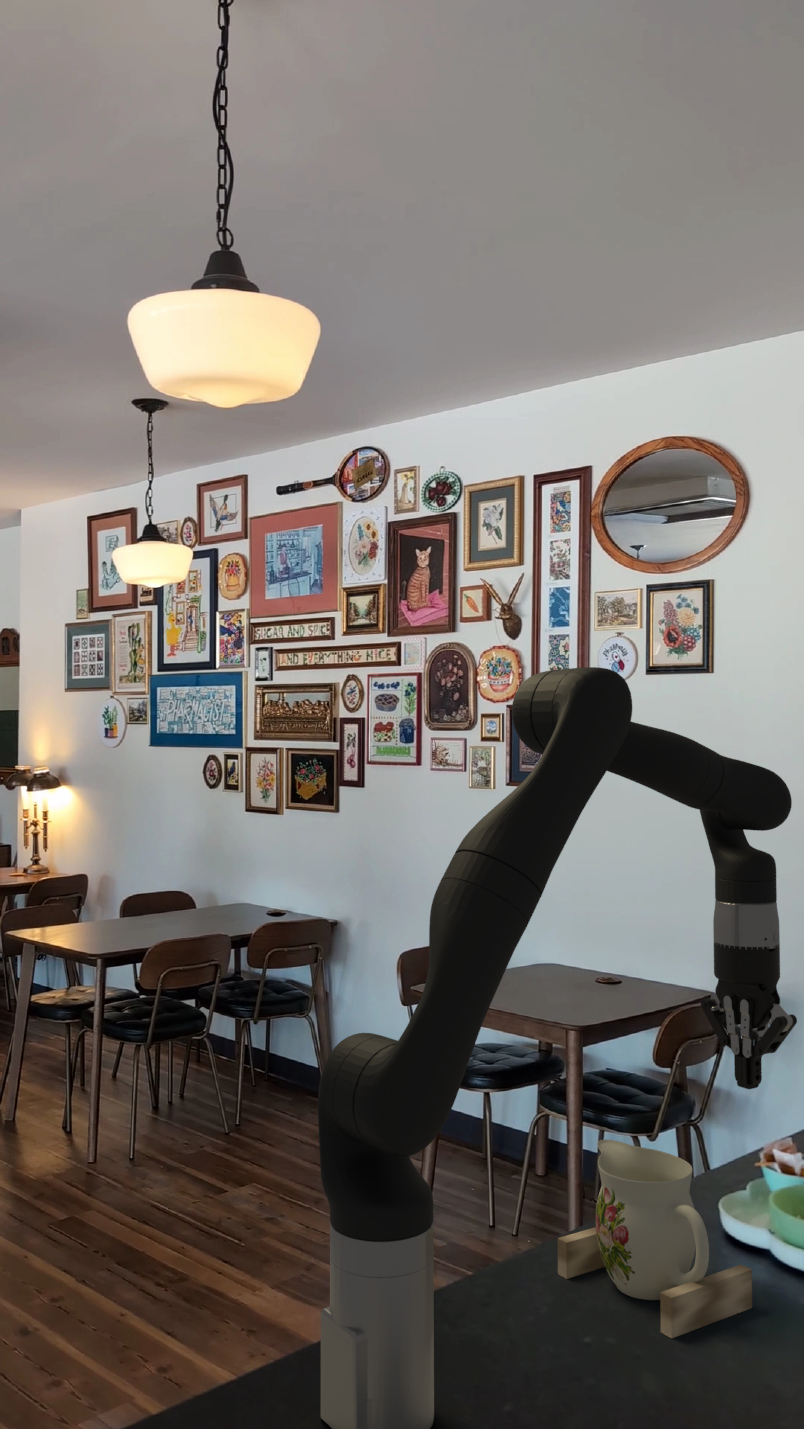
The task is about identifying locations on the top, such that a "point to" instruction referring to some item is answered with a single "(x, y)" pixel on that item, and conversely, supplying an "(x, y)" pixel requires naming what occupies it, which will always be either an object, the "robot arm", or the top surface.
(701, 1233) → the pitcher
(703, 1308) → the oak rails
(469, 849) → the robot arm
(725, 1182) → the top surface
